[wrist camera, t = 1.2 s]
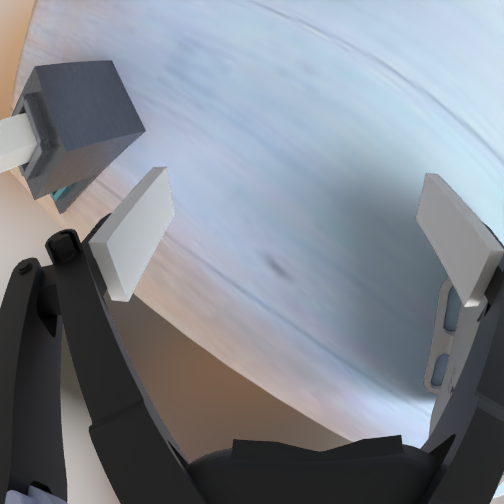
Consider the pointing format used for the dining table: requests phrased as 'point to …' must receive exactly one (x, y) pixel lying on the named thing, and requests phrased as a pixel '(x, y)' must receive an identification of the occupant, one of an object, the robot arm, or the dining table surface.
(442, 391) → the network device
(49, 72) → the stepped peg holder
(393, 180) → the dining table surface
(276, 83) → the dining table surface
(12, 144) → the plug
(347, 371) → the dining table surface
